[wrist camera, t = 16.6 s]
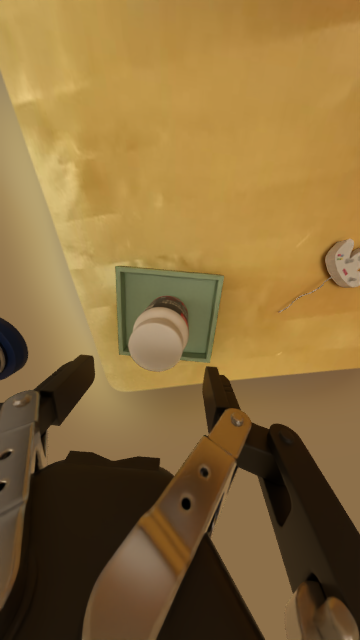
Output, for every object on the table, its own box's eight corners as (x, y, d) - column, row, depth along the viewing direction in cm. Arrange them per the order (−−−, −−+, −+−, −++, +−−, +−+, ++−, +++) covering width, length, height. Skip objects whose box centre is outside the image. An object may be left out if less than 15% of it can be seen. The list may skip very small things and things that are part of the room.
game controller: (375, 257, 21) (400, 256, 18) (306, 330, 24) (320, 338, 22) (341, 231, 20) (363, 227, 17) (276, 311, 23) (286, 317, 21)
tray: (123, 348, 26) (118, 354, 24) (121, 265, 22) (115, 266, 20) (208, 355, 26) (209, 363, 24) (220, 274, 22) (224, 275, 20)
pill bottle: (196, 313, 23) (203, 347, 14) (170, 340, 25) (161, 388, 15) (164, 285, 22) (149, 302, 13) (139, 316, 24) (109, 351, 14)
